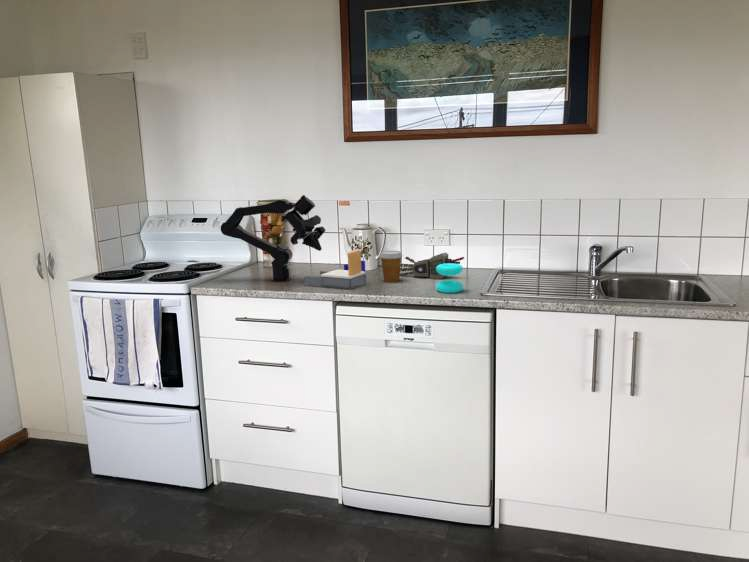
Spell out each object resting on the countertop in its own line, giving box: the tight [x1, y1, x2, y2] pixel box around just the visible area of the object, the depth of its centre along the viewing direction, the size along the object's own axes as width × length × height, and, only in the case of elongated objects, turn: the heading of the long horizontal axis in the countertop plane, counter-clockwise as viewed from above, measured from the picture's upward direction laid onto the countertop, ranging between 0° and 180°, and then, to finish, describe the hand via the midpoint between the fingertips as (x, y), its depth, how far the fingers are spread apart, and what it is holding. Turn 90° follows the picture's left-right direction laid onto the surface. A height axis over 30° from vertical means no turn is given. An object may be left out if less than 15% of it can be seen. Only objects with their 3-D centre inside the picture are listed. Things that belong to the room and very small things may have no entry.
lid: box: [321, 249, 367, 279], centre depth 239 cm, size 14×12×10 cm
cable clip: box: [343, 260, 366, 272], centre depth 261 cm, size 12×4×6 cm, turn 147°
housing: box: [304, 270, 367, 291], centre depth 242 cm, size 22×12×4 cm, turn 61°
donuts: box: [435, 263, 464, 294], centre depth 224 cm, size 10×10×10 cm
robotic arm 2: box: [400, 252, 465, 280], centre depth 251 cm, size 10×8×30 cm
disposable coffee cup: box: [379, 250, 403, 283], centre depth 246 cm, size 10×10×12 cm
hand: (320, 249), depth 247 cm, fingers closed
